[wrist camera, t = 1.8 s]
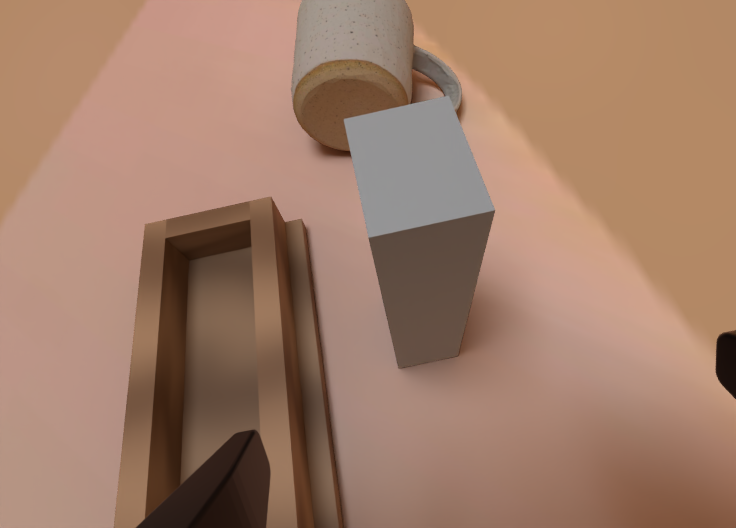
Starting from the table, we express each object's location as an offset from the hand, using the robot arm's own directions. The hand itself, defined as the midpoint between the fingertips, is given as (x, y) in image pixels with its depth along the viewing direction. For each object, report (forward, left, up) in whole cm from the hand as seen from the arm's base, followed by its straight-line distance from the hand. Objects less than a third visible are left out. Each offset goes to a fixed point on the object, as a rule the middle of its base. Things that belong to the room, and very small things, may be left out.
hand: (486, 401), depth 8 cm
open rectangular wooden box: (+7, +8, -12) cm, 16 cm away
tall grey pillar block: (+6, -2, -12) cm, 14 cm away
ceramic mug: (+20, -9, -12) cm, 25 cm away
